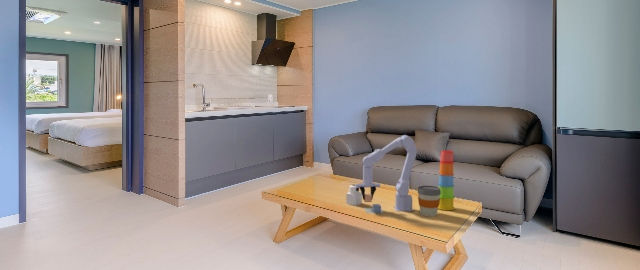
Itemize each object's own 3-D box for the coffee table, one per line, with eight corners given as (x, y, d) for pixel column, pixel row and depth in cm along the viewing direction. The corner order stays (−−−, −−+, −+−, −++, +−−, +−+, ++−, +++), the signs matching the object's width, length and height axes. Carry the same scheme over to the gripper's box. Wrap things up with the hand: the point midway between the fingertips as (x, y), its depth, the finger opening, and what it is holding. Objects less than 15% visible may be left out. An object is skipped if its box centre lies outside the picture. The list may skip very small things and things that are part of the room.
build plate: (379, 208, 219) (379, 207, 219) (384, 213, 209) (384, 212, 209) (363, 208, 219) (363, 207, 218) (367, 213, 209) (367, 213, 209)
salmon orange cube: (370, 200, 219) (370, 193, 218) (371, 202, 215) (371, 195, 214) (363, 200, 219) (363, 193, 218) (365, 202, 215) (365, 195, 214)
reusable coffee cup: (413, 211, 213) (413, 186, 212) (432, 209, 216) (433, 184, 215) (424, 218, 201) (424, 191, 199) (444, 216, 204) (445, 190, 202)
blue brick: (379, 210, 213) (379, 203, 213) (380, 212, 209) (380, 206, 209) (372, 210, 213) (372, 204, 212) (374, 213, 209) (374, 206, 208)
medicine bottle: (352, 201, 233) (352, 183, 232) (361, 203, 229) (362, 185, 227) (346, 204, 228) (346, 185, 226) (355, 206, 223) (355, 187, 222)
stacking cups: (433, 207, 220) (434, 151, 216) (443, 204, 226) (444, 149, 222) (448, 212, 211) (450, 153, 208) (458, 208, 218) (460, 151, 214)
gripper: (378, 174, 220) (378, 197, 221) (354, 175, 219) (354, 197, 220) (381, 177, 213) (380, 200, 214) (356, 178, 212) (356, 201, 213)
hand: (367, 199), depth 217 cm, fingers closed on salmon orange cube, 4 cm apart
